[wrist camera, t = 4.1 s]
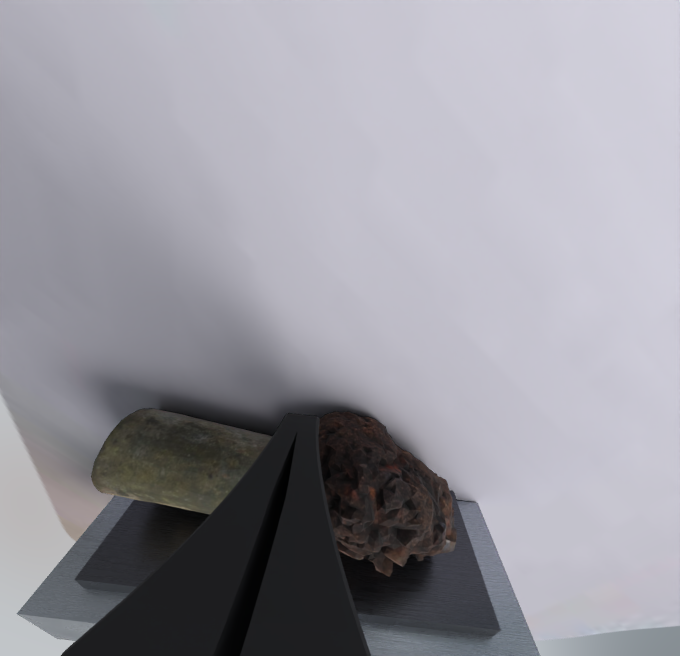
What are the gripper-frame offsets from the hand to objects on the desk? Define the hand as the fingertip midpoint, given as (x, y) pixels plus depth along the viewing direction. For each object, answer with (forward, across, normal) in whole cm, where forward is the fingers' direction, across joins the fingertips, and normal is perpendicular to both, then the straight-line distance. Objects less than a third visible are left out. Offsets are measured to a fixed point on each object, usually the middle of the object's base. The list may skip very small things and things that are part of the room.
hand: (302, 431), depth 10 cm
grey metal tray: (+3, 0, +11) cm, 11 cm away
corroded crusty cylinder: (+3, 0, +4) cm, 6 cm away
